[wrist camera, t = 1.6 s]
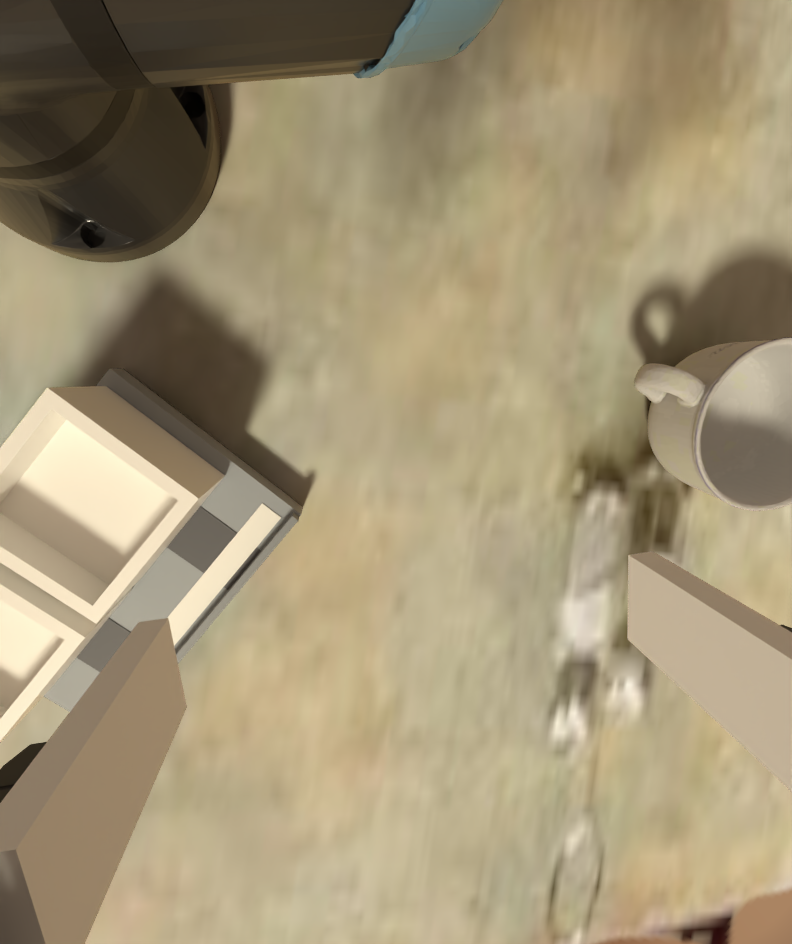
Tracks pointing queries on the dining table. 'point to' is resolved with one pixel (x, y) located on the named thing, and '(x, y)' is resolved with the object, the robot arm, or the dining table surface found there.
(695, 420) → the teacup
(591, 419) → the dining table surface
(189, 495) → the cream square open box
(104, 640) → the panel
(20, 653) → the cream square open box
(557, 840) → the dining table surface
